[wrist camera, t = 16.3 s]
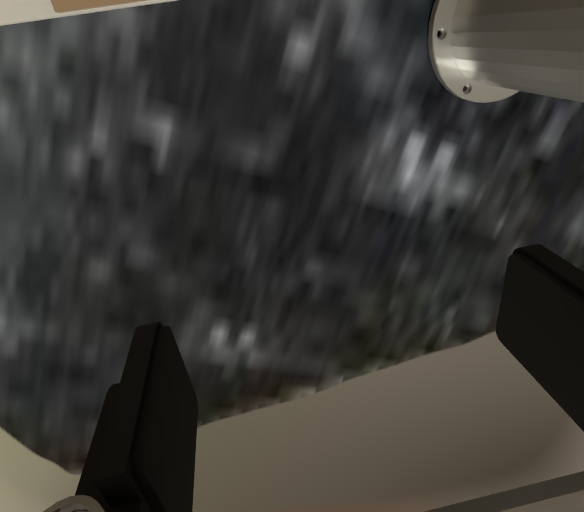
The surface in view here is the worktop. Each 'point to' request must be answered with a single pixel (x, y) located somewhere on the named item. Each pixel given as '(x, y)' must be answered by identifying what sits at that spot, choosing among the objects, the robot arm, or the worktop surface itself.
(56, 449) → the worktop surface
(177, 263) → the worktop surface
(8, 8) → the shallow rimmed tray
